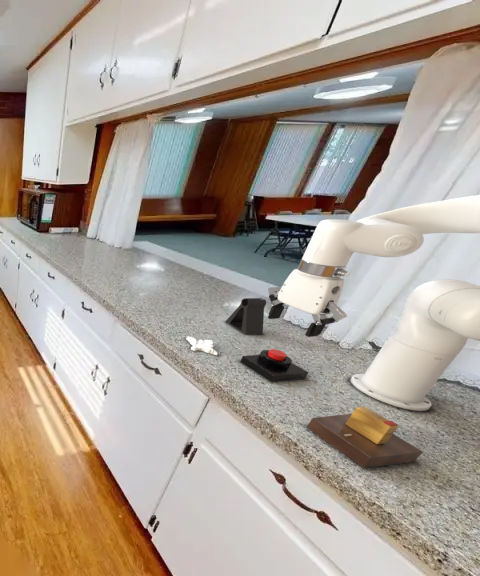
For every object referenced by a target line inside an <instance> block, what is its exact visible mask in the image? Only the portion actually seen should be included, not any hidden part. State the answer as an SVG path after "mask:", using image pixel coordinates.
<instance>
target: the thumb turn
mask: <svg viewBox="0 0 480 576" xmlns="http://www.w3.org/2000/svg"><path fill="white" fill-rule="evenodd" d="M351 414H352V415H351V416H350V418H349V419H348V421H347V422H346V425H348V426H349V427H351V428H352V429H354V430H355V431H357V432H359V433H360V434H362V435H363V436H365V437H366V438H368V439H369V440H371V441H373V442H374V443H376V444H385V443H386V442H387V441H388V439H389V438H390V437H391V436H392V434H394V433H395V432H396V430H397V429H398V428H399V427H400V426H399V425H398V423H396V422H395V421H393V420H389V419H388V418H386V417H384V416H383V415H381V414H378V413H376V412H375V411H373V410H371V409H370V408H369V407H366V406H357V407H355V409H354V411H353V412H352V413H351Z"/></svg>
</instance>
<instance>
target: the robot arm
mask: <svg viewBox="0 0 480 576" xmlns="http://www.w3.org/2000/svg"><path fill="white" fill-rule="evenodd" d="M314 229H315V230H314V231H313V234H312V235H311V238H310V240H309V242H308V245H307V247H306V249H305V251H304V253H303V256H302V257H301V259H300V262H299V264H298V266H297V268H294V269H293V270H292V271H291V272H290V274H289V275H288V276H287V278H286V279H285V281H284V282H283V284H282V286H271V287H268V299H269V300H270V306H271V308H270V310H269V312H268V315H267V319H269V320H275V319H276V320H277V319H280V318H281V315H282V314H283V311H284V309H285V306H284V305H287V306H289V307H291V308H294V309H297V310H299V311H302V312H304V313H306V314H310V315H311V316H312V319H313V321H314V322H311V323H310V324H309V326H308V328H307V330H306V332H305V334H304V336H305V337H308V338H313V337H318V336H320V335H321V334H322V332H323V330H324V328H325V327H326V325H331V324H335V323H338V322H339V321H342V320H344V319H346V318H347V317H348V314H347V313H346V312H345V311H344V310H342V308H340V306H339V305H338V302H339V300H340V298H341V295H342V292H343V288H344V282H345V279H344V278H347V277H348V276H349V275H350V271H347V270H346V269H347V265H348V263H349V262H350V260H351V258H352V256H353V254H355V253H357V254H362V255H363V254H364V255H369V256H373V257H379V258H399V257H404V256H407V255H408V256H409V255H411V254H413V253H415V252H417V251H418V250H420V248H421V247H422V246H423V244H424V241H425V238H424V235H430V234H446V233H447V234H480V194H475V195H469V196H461V197H456V198H455V197H454V198H450V199H443V200H438V201H431V202H426V203H420V204H413V205H408V206H404V207H400V208H395V209H392V210H388V211H384V212H380V213H376V214H373V215H369V216H366V217H363V218H361V219H358V220H351V219H350V220H349V219H341V218H340V219H338V218H329V219H323V220H321V221H320V222H319V223H318V224H317V226H316V227H315V228H314ZM342 277H344V278H342ZM332 314H333V315H332ZM329 315H332V316H330V317H329ZM468 339H470V340H474V341H480V285H478V284H475V283H471V282H468V281H464V280H459V279H450V278H449V279H448V278H447V279H445V278H444V279H434V280H430V281H427V282H424V283H422V284H420V285H418V286H416V287H415V288H414V289H413V290H411V292H410V293H409V295H408V296H407V299H406V300H405V304H404V307H403V310H402V313H401V316H400V318H399V320H398V322H397V323H396V325H395V327H394V328H393V330H392V331H391V333H390V334H389V335H388V337H387V339H386V340H385V342H384V344H383V345H382V347H381V348H380V349H379V351H378V352H377V354H376V355H375V357H374V359H373V360H372V362H371V363H370V365H369V366H368V368H367V369H366V371H365V372H364V373H355V374H353V375H352V376H351V377H350V380H349V381H350V382H351V384H352V385H353V386H354V387H355V388H356V389H357V390H358V391H360V392H361V393H364V394H365V395H367V396H369V397H371V398H373V399H375V400H378V401H379V402H383V403H385V404H387V405H390V406H393V407H396V408H400V409H403V410H409V411H415V412H416V411H417V412H424V411H428V410H430V408H431V407H432V406H433V404H432V401H431V400H430V399H429V398H428V397H427V394H428V393H429V392H430V390H433V389H434V390H435V389H437V388H438V384H437V382H438V380H439V379H440V378H441V376H443V374H444V372H445V371H446V370H447V369H448V368H449V366H450V365H451V364H452V362H453V361H454V360H455V359H456V357H457V356H458V355H460V353H461V351H463V349H464V348H465V346H466V344H467V342H468Z"/></svg>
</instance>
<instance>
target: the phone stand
mask: <svg viewBox="0 0 480 576" xmlns="http://www.w3.org/2000/svg"><path fill="white" fill-rule="evenodd" d="M266 305H267V300H266V299H265V298H264V299H263V297H246V298H245V297H244V298H242V299H241V301H240V304H239V305H238V307H236V309H234V311H233V312H232V314H230V315H229V317H228V318H227V319H226V320H225V323H226V324H228V325H230V326H231V327H232V328H234V329H236V330H237V331H238V332H241V333H242V334H244V335H263V334H264V317H265V307H266Z"/></svg>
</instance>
